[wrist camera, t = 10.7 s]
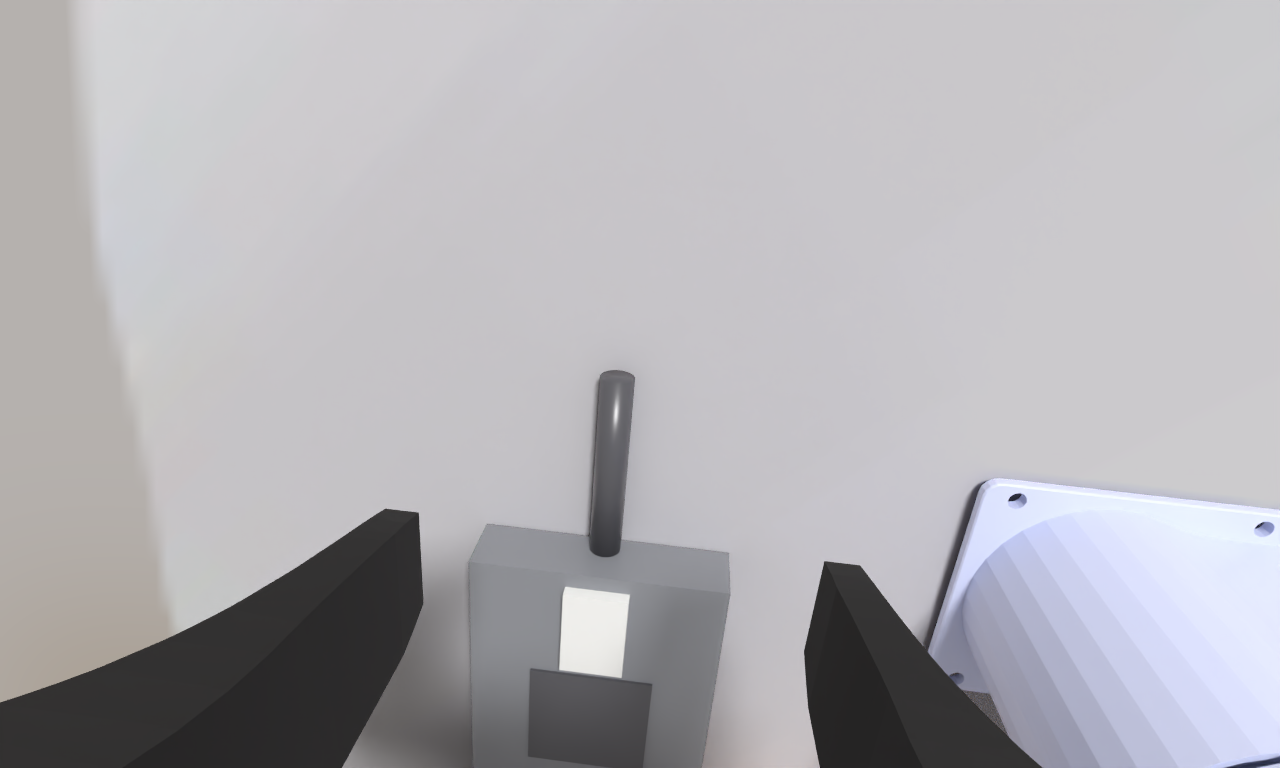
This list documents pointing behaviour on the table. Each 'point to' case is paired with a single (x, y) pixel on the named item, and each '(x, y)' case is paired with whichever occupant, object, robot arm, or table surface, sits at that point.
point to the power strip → (534, 627)
